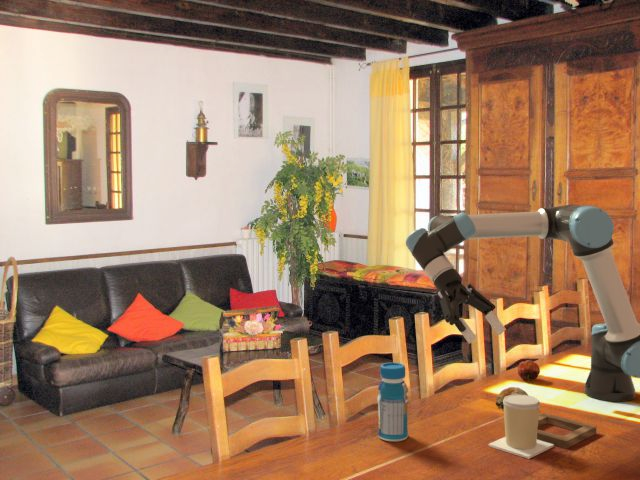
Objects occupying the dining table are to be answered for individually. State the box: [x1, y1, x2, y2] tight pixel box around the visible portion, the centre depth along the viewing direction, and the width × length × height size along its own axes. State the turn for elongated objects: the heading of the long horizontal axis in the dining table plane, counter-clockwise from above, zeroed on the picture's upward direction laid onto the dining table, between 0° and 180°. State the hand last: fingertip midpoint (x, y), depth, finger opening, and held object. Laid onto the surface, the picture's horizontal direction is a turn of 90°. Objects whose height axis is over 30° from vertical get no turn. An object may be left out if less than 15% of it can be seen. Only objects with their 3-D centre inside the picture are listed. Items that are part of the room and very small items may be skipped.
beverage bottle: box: [376, 362, 409, 443], centre depth 200 cm, size 8×8×20 cm
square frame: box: [537, 412, 597, 449], centre depth 203 cm, size 16×16×2 cm
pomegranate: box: [517, 359, 541, 384], centre depth 253 cm, size 7×7×10 cm
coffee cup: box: [503, 394, 541, 449], centre depth 193 cm, size 9×9×12 cm
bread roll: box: [495, 386, 529, 411], centre depth 225 cm, size 10×10×8 cm
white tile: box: [488, 436, 555, 460], centre depth 193 cm, size 12×12×1 cm
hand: (487, 336), depth 199 cm, fingers open, 13 cm apart
